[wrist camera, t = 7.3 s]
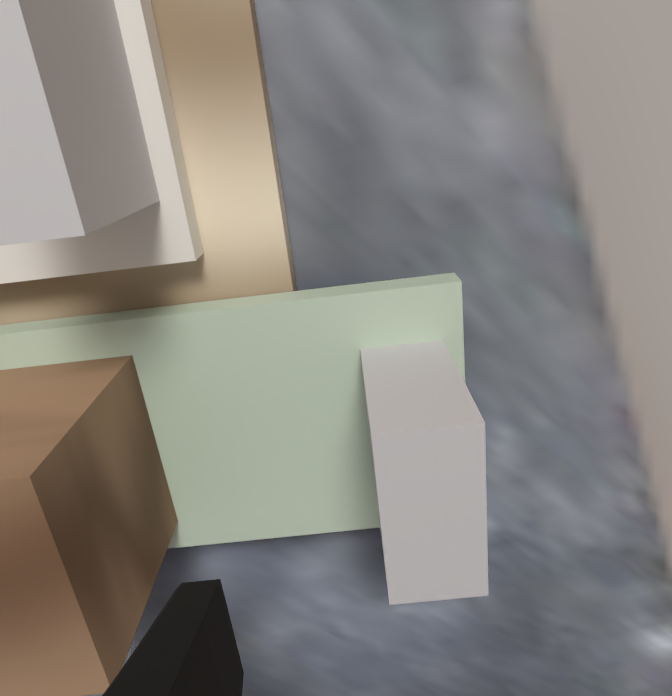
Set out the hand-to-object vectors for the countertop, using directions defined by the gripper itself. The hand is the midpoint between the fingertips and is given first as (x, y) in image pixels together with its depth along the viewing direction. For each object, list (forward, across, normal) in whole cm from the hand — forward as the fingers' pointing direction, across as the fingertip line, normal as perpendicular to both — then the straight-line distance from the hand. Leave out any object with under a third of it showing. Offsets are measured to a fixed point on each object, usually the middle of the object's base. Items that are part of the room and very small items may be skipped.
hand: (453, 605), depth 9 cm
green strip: (+7, +6, 0) cm, 9 cm away
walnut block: (+6, +9, 0) cm, 11 cm away
